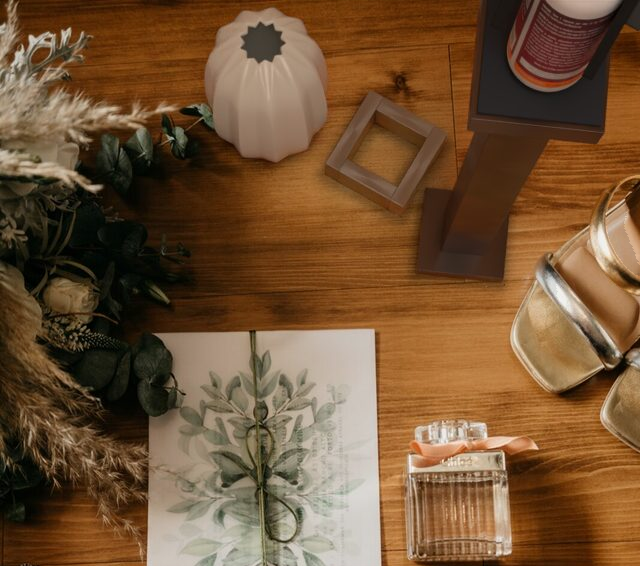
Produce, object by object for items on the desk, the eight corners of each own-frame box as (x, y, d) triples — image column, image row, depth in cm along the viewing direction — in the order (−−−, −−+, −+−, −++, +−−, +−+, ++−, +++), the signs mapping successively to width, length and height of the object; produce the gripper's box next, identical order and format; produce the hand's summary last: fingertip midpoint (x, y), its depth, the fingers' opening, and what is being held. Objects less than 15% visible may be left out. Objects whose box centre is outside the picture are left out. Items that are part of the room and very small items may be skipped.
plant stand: (508, 201, 85) (614, 7, 54) (501, 283, 84) (605, 133, 53) (424, 192, 85) (482, -7, 54) (415, 273, 84) (470, 118, 53)
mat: (609, 12, 54) (610, 9, 54) (599, 127, 53) (601, 125, 53) (487, -1, 54) (488, -4, 54) (476, 114, 53) (477, 111, 53)
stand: (444, 144, 85) (448, 132, 83) (401, 217, 84) (403, 207, 82) (368, 102, 86) (370, 89, 83) (324, 174, 85) (325, 163, 82)
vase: (319, 182, 85) (319, 114, 71) (203, 164, 85) (182, 93, 72) (337, 73, 86) (341, -13, 73) (223, 56, 86) (205, -34, 73)
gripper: (984, -360, 35) (668, 111, 50) (641, -532, 36) (431, -18, 51) (1047, -423, 30) (670, 130, 45) (638, -624, 30) (403, -16, 46)
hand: (543, 50), depth 48 cm, fingers closed on pill bottle, 6 cm apart
